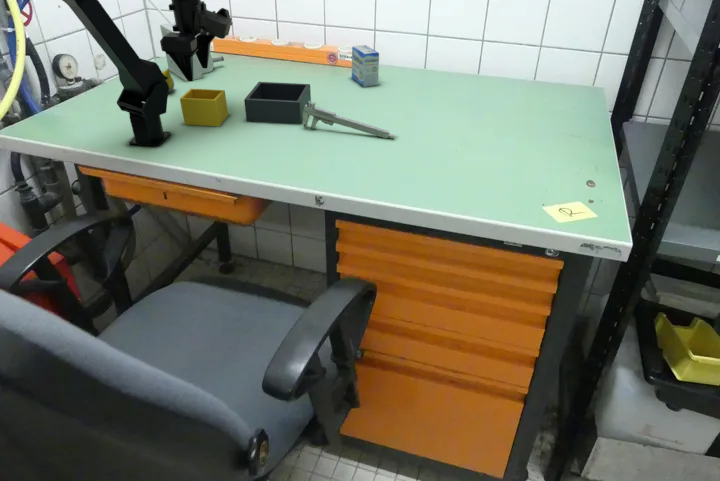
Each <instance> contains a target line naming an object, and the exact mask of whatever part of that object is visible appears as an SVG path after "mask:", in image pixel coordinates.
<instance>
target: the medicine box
mask: <svg viewBox="0 0 720 481" xmlns="http://www.w3.org/2000/svg"><path fill="white" fill-rule="evenodd" d="M379 69H380V53H379V51H377V50H375V49H373V48H372V47H370V46H368V45H367V44H366V45H363V44H361V45H353V46H352V47H351V79H352V80H353V81H354V82H356V83H358V84H359V85H361V86H362V87H363V88H366V87H375V86H379Z"/></svg>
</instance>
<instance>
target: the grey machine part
mask: <svg viewBox="0 0 720 481" xmlns="http://www.w3.org/2000/svg"><path fill="white" fill-rule="evenodd" d="M174 25H176V23H175V22H168V23H162V24H160V25H159V27H160V32H161V37H162V38H163V37H164V36H165V35H167V34H168V33H170V32H173V27H172V26H174ZM173 33H180V32H173ZM162 38H161V39H162ZM164 54H165V58H166V64H167V68H168V69H169V71H170V73H173V74H174V75H176V76H177V77H179V79H182V80H183V81H184V82H188V81H187V79H186V78H185V76H184V75H183V73H182V72H181V70H180V69H179V68H178V66H177V65H176V63H175V62H174V61H173V60H172V58H171V57H170V56H169V54H166V52H164ZM224 61H225V58H224V56H217V57H212V55H211V50H210V51H209V60H208V67H207V68H202V66H201V64H200V62H199V60H198V57H197V55H196V53H195V54H194V56H193V81H195V80H198V79H203V74H207V73H210V72H212V71H213V70H214V67H215V66H214V64H215V63H218V62H224Z"/></svg>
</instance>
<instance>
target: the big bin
mask: <svg viewBox="0 0 720 481" xmlns="http://www.w3.org/2000/svg"><path fill="white" fill-rule="evenodd" d="M311 94H312V92H311V84H310V83H295V82H291V83H290V82H272V81H258V82H257V83H256V85H254V87H253V88H252V90H251V91H249V92H248V94H247V95H246V97H245V98H244V99H243V102H244V112H245V118H246V122H254V123H255V122H256V123H275V124H290V125H291V124H294V125H301V124H303V111H304V107H305V105H308V102H309V101H311V102H312V95H311Z"/></svg>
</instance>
